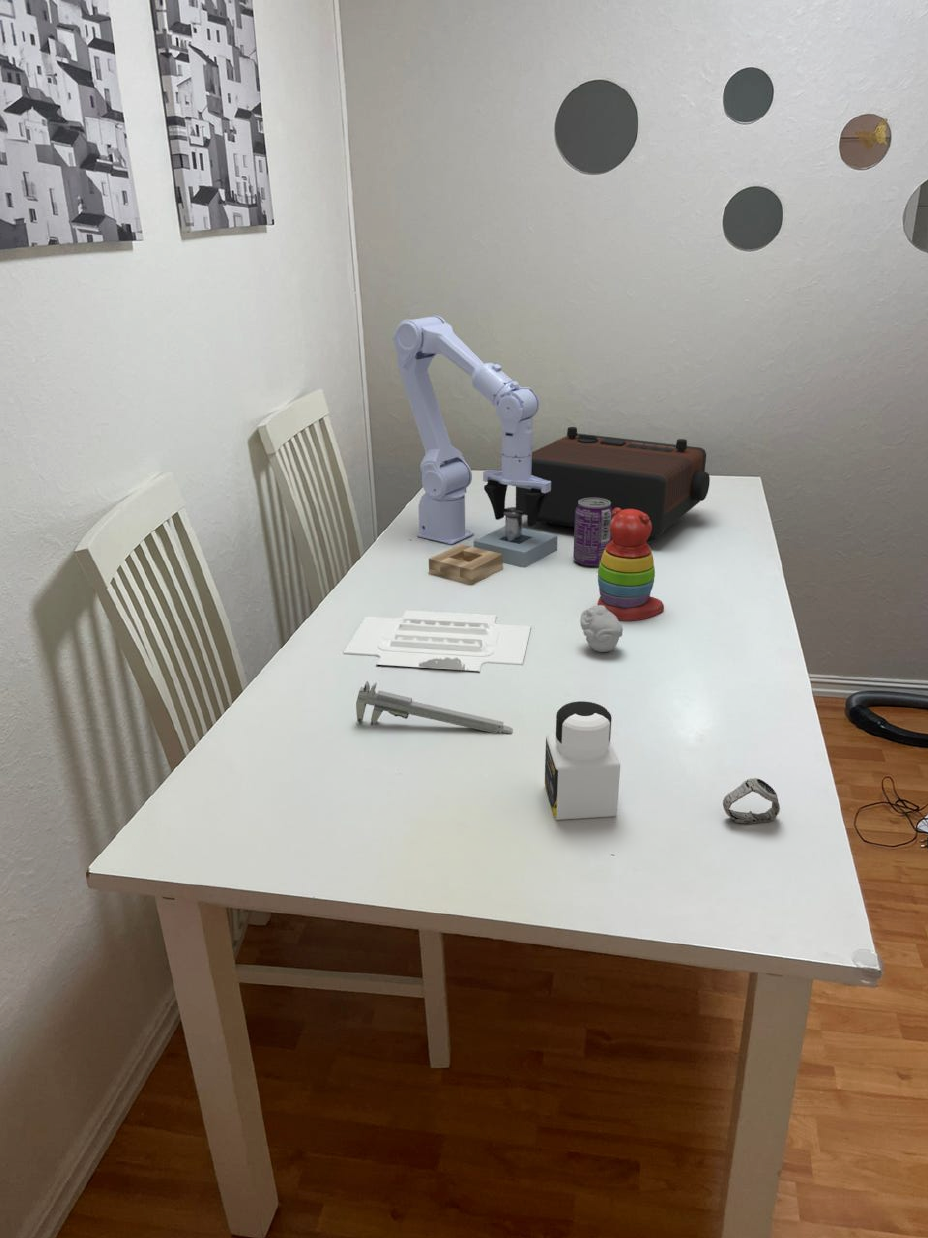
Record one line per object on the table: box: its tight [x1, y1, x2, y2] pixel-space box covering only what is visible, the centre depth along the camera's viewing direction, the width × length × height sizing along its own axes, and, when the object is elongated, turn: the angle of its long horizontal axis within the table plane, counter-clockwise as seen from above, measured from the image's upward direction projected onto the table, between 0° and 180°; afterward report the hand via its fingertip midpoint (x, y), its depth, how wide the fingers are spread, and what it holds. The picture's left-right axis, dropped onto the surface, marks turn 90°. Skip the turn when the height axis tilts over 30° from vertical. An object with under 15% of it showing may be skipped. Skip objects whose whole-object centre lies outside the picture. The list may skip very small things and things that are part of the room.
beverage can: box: [572, 498, 613, 567], centre depth 171 cm, size 7×7×12 cm
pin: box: [503, 506, 525, 544], centre depth 176 cm, size 4×4×8 cm
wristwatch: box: [722, 777, 781, 826], centre depth 99 cm, size 4×6×5 cm, turn 95°
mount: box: [428, 543, 504, 586], centre depth 169 cm, size 10×10×3 cm
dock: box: [473, 526, 558, 568], centre depth 179 cm, size 12×12×3 cm
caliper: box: [355, 680, 513, 735], centre depth 117 cm, size 21×1×6 cm, turn 82°
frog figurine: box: [579, 604, 624, 653], centre depth 137 cm, size 6×7×7 cm
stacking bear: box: [596, 508, 665, 621], centre depth 149 cm, size 11×10×18 cm
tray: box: [343, 610, 532, 673], centre depth 142 cm, size 20×28×4 cm
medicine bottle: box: [544, 700, 621, 821], centre depth 101 cm, size 7×7×12 cm
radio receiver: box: [515, 426, 711, 541], centre depth 192 cm, size 35×27×18 cm
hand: (515, 521), depth 177 cm, fingers open, 7 cm apart
